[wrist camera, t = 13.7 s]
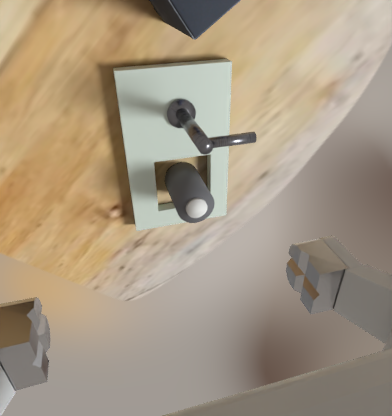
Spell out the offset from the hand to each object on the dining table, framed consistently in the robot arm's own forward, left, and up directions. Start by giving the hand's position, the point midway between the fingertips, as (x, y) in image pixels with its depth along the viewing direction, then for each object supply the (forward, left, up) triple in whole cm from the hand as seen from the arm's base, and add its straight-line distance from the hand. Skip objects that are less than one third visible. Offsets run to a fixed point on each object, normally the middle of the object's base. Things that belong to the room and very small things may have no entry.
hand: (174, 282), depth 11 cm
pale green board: (+7, -10, -31) cm, 33 cm away
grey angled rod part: (+9, -5, -30) cm, 31 cm away
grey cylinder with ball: (+7, -14, -31) cm, 35 cm away
